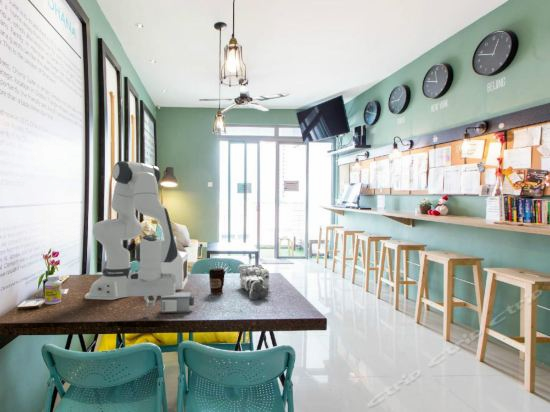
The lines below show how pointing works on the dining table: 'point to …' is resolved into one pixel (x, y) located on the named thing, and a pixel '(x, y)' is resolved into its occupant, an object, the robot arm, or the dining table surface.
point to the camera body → (180, 302)
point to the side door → (169, 305)
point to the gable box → (178, 266)
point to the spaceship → (254, 280)
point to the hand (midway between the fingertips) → (150, 305)
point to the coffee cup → (216, 280)
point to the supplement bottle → (53, 290)
